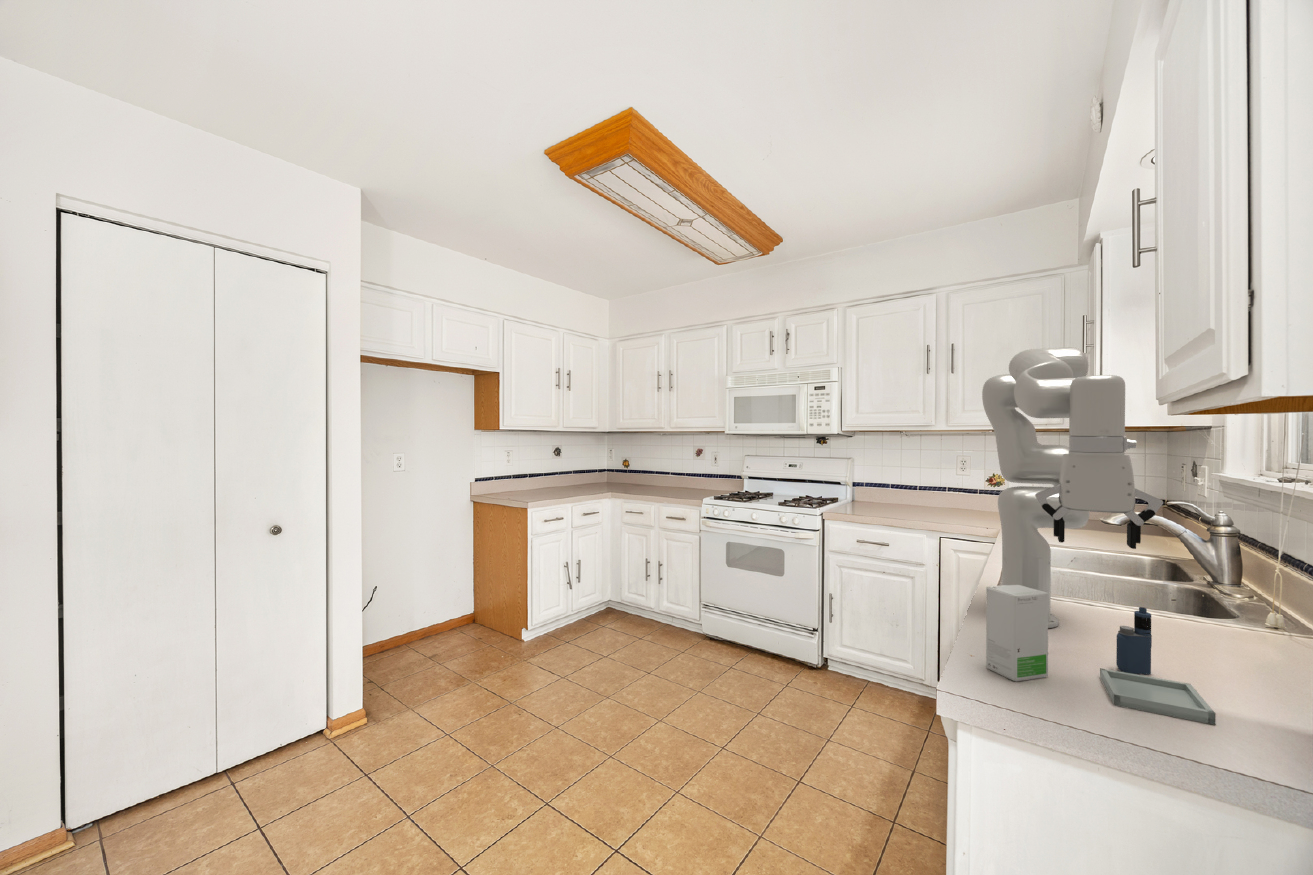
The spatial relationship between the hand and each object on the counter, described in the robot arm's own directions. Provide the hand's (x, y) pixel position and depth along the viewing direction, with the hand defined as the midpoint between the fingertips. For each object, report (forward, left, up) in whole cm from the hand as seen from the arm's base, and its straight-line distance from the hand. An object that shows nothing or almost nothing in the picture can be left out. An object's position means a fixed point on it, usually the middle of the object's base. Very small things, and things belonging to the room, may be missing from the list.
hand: (1095, 544), depth 94 cm
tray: (+1, +8, -25) cm, 26 cm away
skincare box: (0, -11, -25) cm, 28 cm away
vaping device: (-11, +8, -25) cm, 29 cm away
